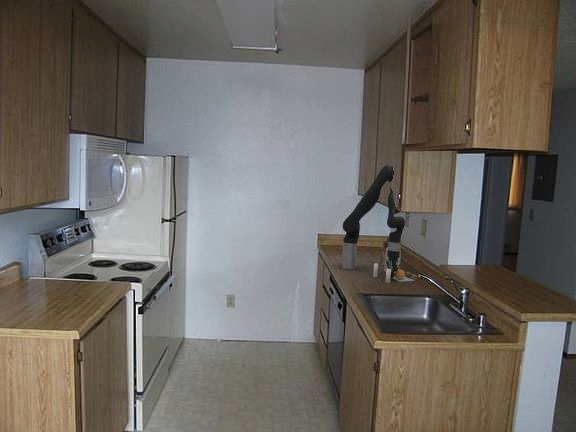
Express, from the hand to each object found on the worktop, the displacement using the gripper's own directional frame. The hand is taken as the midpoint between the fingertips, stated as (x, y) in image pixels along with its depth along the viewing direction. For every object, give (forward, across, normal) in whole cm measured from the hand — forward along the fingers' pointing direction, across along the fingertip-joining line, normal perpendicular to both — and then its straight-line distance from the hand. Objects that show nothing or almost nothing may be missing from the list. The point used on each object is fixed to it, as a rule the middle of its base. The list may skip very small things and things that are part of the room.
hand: (391, 277), depth 293 cm
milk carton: (+1, -17, +10) cm, 20 cm away
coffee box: (+1, -37, +19) cm, 42 cm away
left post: (+1, -8, -7) cm, 10 cm away
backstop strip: (+1, 0, +14) cm, 14 cm away
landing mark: (+1, 0, +7) cm, 7 cm away
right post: (+1, +8, -7) cm, 10 cm away
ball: (-2, 0, +5) cm, 6 cm away
